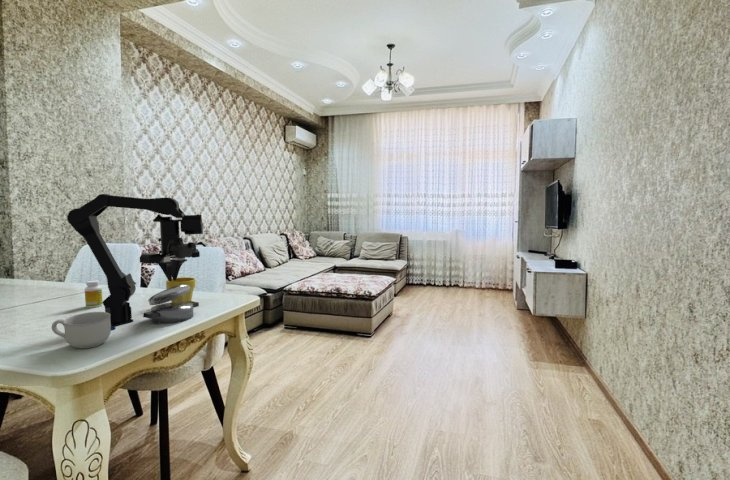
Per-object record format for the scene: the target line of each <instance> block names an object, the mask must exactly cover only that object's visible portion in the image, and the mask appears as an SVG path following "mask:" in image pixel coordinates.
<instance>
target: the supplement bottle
mask: <svg viewBox="0 0 730 480" xmlns="http://www.w3.org/2000/svg"><path fill="white" fill-rule="evenodd" d="M85 282H86V283H85V284H86V287H85V288H84V299H85V307H86V308H90V309H93V308H99V307H102V306H104V305H103V301H104V300H103V289H102V288H103V287H102V286H100V281H99V280H98V279H97V280H95V279H94V280H88V281H85Z"/></svg>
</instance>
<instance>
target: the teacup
mask: <svg viewBox="0 0 730 480" xmlns="http://www.w3.org/2000/svg"><path fill="white" fill-rule="evenodd" d="M110 317H111V315H110V314H109V313H107V312H105V311H91V312H83V313H79V314H74V315H70V316H69V317H67V318H65V319H63V318H62V319H61V318H60V319H57V320H55V321H54V322H53V323H52V325H51V330H52V332H53V333H54V335H57V336H59V337H61V338H63V339H64V340H66V343H68V345H70V346H71V347H74V348H76V349H82V350H83V349H84V350H85V349H90V347H91V348H95V347H97V346H100V345H102V344H103V343H104V342H105V341H107V340H108V338H109V337H110V335H111V333H112V332H111V331H112V326H111V321H110ZM58 324H60V325H62V326H63V329H64V332H63V331H61V330H60V329H58V327H57V326H58Z"/></svg>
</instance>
